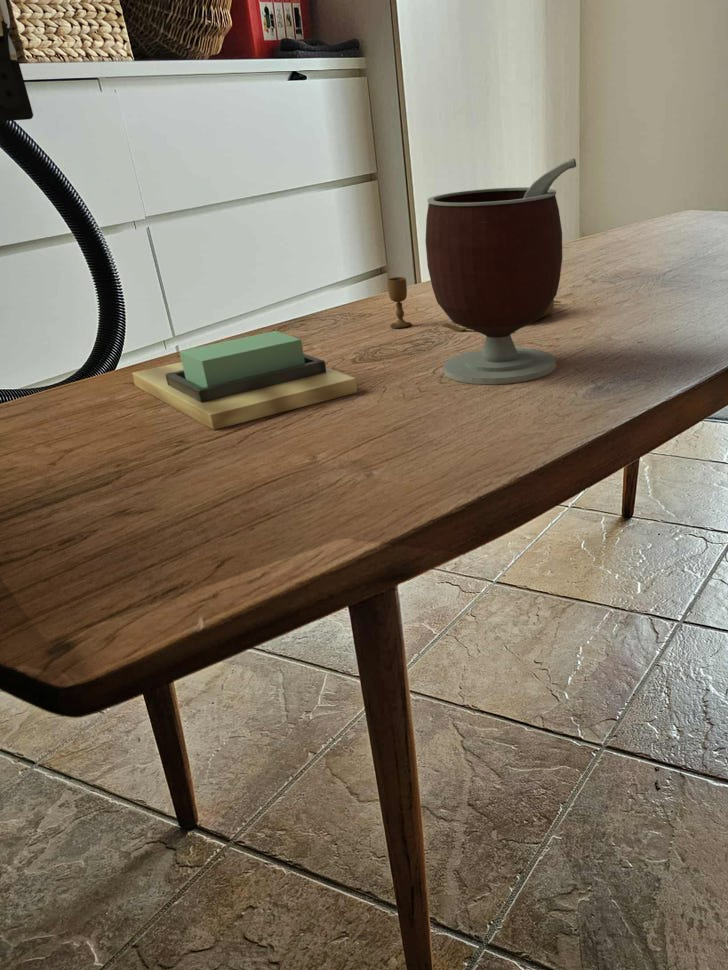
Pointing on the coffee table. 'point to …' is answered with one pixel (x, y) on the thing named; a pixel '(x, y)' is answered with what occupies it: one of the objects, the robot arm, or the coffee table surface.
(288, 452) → the coffee table surface
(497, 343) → the mate gourd
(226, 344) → the green rectangular block
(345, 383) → the wooden block holder
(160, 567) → the coffee table surface
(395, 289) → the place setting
